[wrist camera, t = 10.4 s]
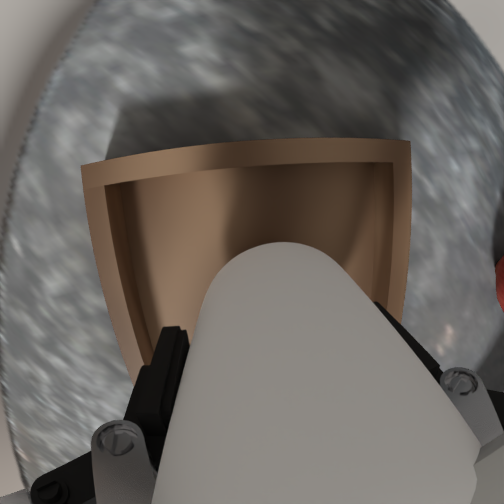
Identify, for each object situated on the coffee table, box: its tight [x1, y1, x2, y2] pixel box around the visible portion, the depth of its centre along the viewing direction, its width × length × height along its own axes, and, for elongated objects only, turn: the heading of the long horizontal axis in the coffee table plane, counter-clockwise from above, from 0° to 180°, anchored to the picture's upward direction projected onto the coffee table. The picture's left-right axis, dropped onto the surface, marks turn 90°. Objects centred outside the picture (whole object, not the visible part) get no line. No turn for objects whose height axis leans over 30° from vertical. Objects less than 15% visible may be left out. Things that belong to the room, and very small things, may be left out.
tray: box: [81, 138, 412, 386], centre depth 14 cm, size 14×14×2 cm
